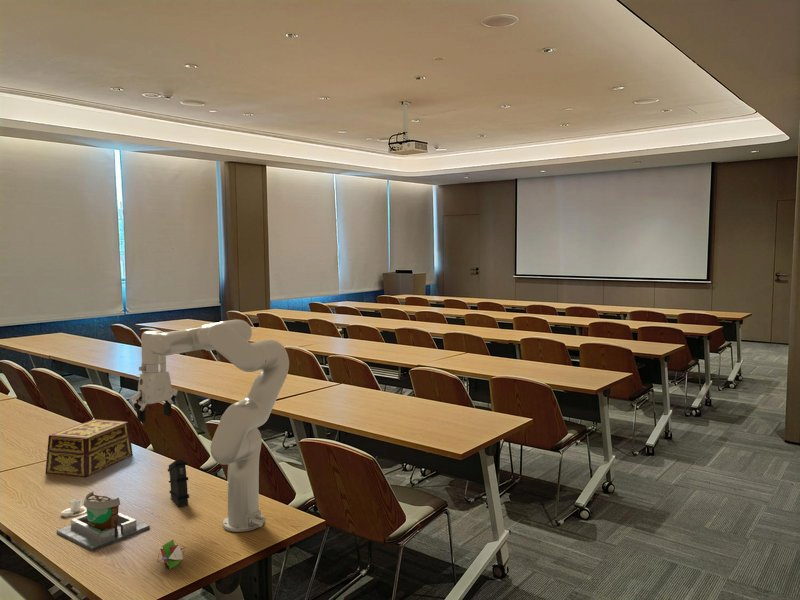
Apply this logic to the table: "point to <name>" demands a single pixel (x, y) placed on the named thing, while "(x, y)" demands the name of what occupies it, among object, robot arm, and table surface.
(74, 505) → the white curved piece
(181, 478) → the black tall block
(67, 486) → the table surface
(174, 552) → the geometric puzzle
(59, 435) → the decorative box
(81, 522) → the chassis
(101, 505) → the food container
